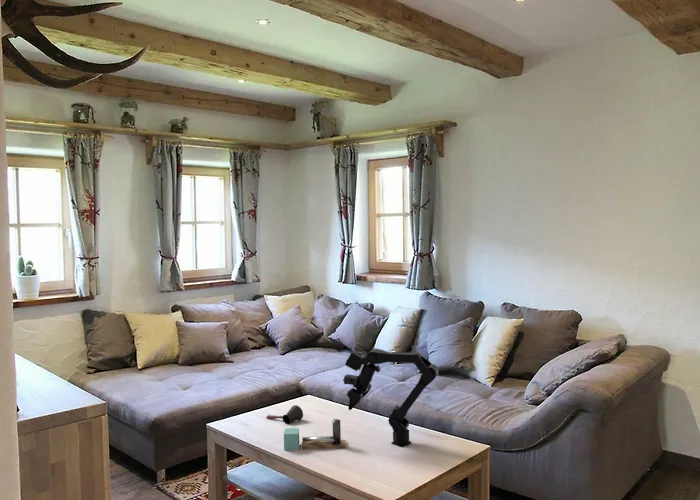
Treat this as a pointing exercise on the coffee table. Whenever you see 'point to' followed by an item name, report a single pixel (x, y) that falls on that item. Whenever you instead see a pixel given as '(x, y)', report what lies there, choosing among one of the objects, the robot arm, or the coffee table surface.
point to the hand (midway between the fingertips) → (352, 406)
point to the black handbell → (290, 415)
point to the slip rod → (335, 438)
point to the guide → (321, 444)
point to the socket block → (291, 438)
